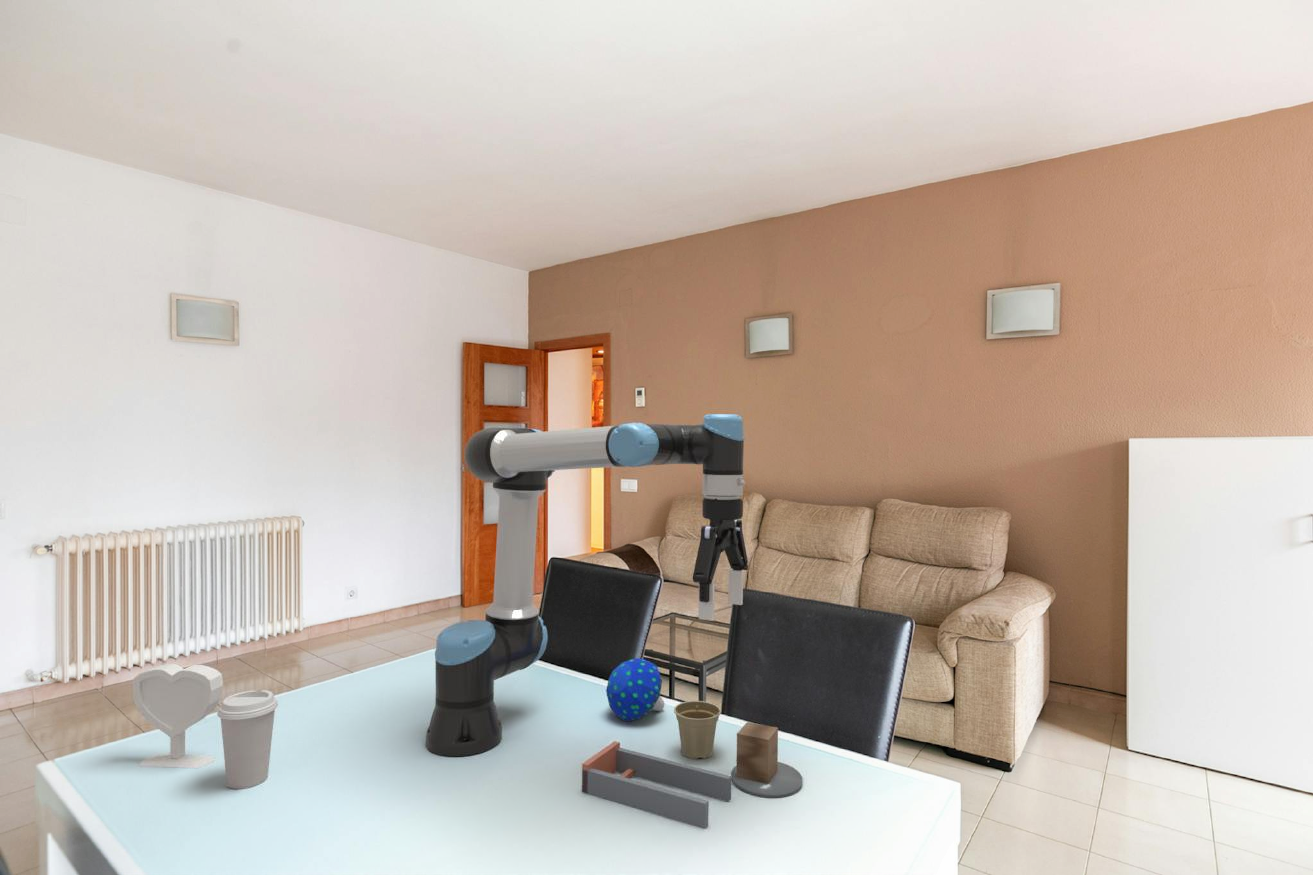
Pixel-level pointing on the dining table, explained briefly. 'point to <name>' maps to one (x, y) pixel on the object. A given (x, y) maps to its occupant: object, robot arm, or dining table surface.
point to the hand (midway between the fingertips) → (721, 611)
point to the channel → (652, 797)
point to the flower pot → (697, 727)
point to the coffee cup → (247, 736)
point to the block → (757, 752)
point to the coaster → (771, 783)
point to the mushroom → (635, 689)
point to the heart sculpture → (177, 707)
